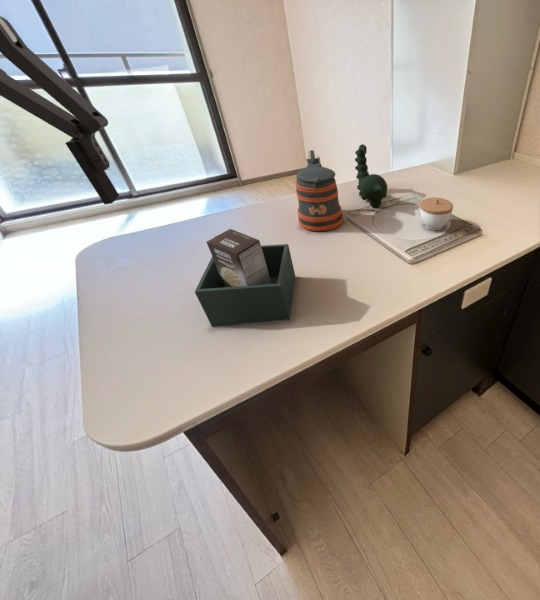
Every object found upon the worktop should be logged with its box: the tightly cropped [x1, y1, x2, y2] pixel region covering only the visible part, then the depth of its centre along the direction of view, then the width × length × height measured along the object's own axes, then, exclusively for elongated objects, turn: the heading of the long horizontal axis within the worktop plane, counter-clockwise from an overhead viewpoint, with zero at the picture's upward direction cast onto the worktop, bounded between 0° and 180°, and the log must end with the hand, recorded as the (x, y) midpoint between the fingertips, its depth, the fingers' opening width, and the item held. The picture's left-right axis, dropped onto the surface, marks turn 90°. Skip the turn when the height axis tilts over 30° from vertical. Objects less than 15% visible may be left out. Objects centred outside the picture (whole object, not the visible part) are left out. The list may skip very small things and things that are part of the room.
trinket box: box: [419, 196, 454, 231], centre depth 107 cm, size 11×11×9 cm
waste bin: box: [194, 243, 296, 328], centre depth 75 cm, size 17×17×10 cm
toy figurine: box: [354, 143, 388, 208], centre depth 118 cm, size 9×19×25 cm
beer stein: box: [295, 149, 344, 232], centre depth 105 cm, size 19×15×20 cm
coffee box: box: [206, 228, 272, 287], centre depth 72 cm, size 9×6×16 cm
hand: (43, 210), depth 37 cm, fingers open, 13 cm apart
